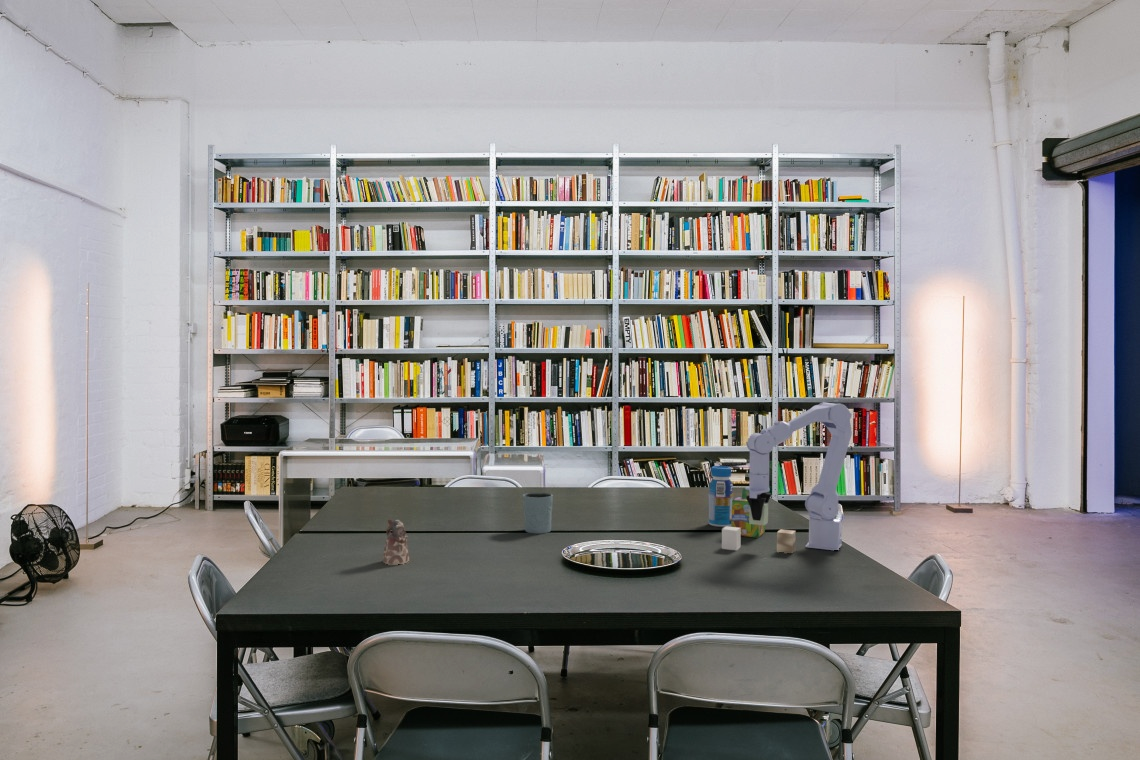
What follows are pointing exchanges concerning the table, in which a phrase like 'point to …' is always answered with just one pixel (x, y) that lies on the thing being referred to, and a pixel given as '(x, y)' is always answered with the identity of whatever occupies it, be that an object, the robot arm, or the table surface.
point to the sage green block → (763, 518)
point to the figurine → (396, 544)
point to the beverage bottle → (720, 497)
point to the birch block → (786, 541)
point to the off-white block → (731, 538)
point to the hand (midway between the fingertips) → (758, 518)
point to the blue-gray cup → (537, 512)
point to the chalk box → (744, 517)
